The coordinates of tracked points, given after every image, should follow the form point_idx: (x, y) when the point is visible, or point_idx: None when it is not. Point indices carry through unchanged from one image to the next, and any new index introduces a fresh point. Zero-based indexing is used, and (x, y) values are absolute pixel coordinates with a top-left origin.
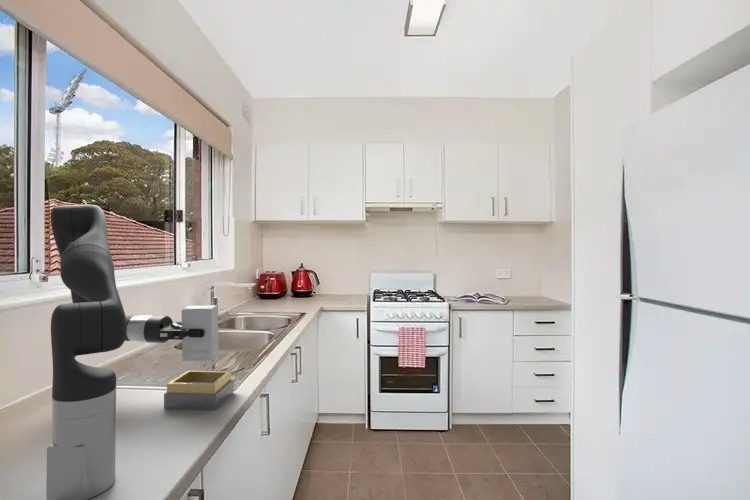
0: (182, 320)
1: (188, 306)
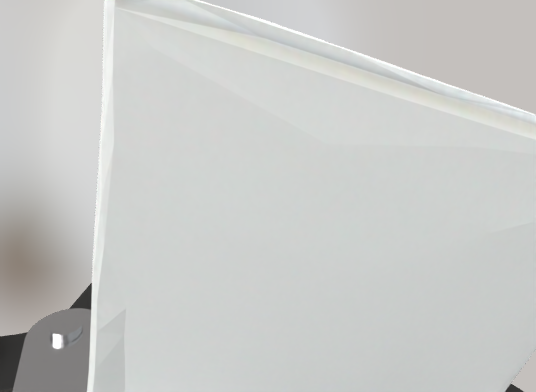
0: (506, 360)
1: (333, 49)
